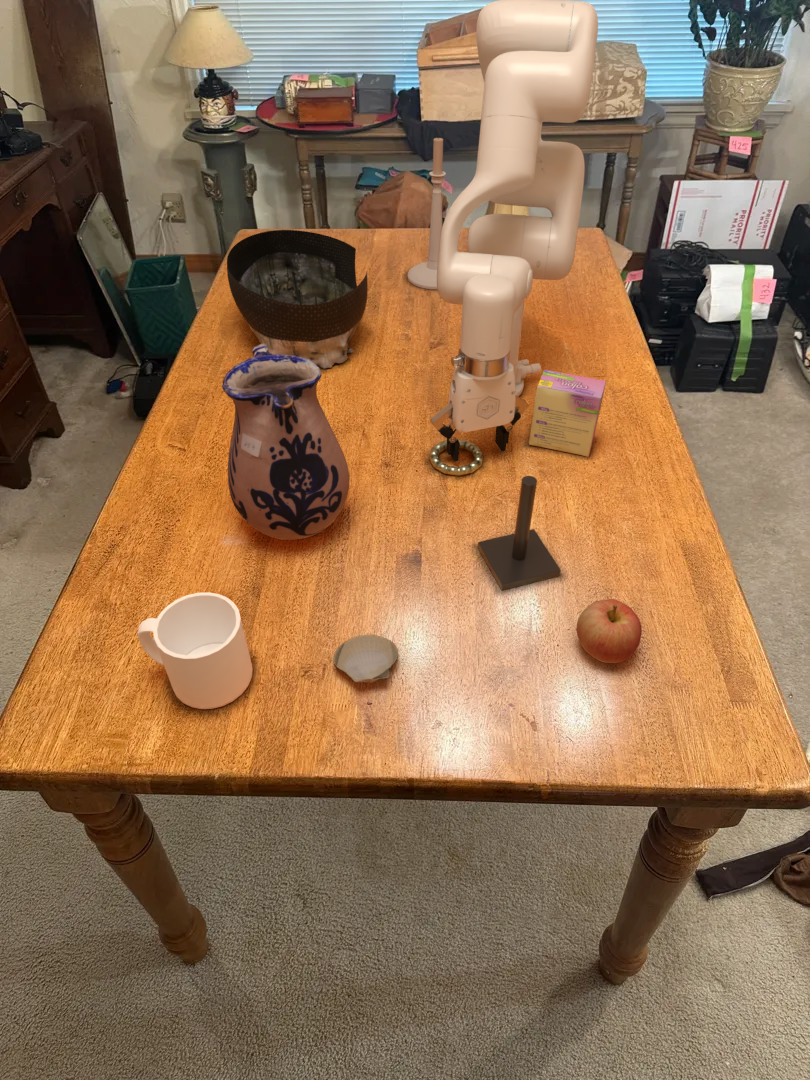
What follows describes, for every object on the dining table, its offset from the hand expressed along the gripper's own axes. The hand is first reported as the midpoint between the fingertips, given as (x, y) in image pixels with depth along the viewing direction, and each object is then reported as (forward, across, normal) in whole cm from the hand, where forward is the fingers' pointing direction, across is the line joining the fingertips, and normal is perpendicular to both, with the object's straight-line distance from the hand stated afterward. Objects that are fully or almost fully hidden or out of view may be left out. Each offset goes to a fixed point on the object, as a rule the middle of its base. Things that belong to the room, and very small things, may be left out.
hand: (477, 451), depth 127 cm
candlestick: (+1, +16, +66) cm, 68 cm away
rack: (+1, -4, -25) cm, 25 cm away
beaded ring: (0, -4, 0) cm, 4 cm away
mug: (+1, -50, -31) cm, 59 cm away
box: (+1, +15, -1) cm, 15 cm away
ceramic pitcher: (+1, -33, -4) cm, 33 cm away
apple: (+1, 0, -43) cm, 43 cm away
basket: (+1, -18, +50) cm, 54 cm away
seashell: (+1, -30, -36) cm, 47 cm away
